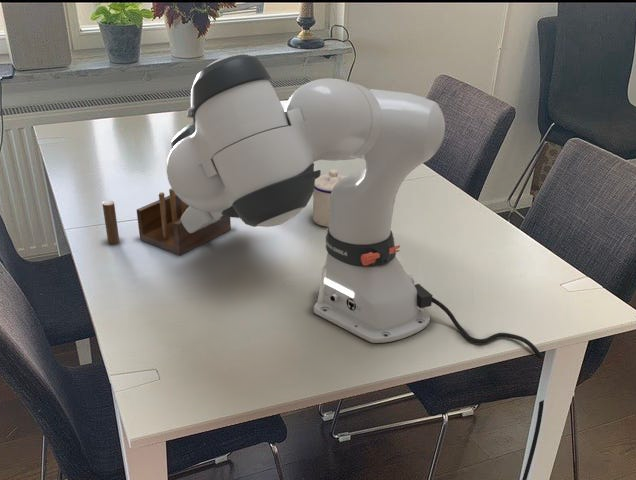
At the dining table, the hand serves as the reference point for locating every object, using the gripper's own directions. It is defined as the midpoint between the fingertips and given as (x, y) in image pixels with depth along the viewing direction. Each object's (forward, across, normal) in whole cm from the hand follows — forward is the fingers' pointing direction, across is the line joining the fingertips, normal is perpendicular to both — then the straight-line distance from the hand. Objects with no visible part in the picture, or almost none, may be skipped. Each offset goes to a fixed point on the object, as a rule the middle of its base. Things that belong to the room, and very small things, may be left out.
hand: (206, 222), depth 160 cm
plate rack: (+8, 0, -1) cm, 8 cm away
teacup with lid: (-5, -28, +13) cm, 31 cm away
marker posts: (+15, 0, -8) cm, 17 cm away
